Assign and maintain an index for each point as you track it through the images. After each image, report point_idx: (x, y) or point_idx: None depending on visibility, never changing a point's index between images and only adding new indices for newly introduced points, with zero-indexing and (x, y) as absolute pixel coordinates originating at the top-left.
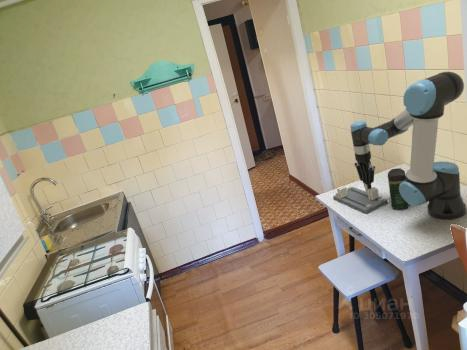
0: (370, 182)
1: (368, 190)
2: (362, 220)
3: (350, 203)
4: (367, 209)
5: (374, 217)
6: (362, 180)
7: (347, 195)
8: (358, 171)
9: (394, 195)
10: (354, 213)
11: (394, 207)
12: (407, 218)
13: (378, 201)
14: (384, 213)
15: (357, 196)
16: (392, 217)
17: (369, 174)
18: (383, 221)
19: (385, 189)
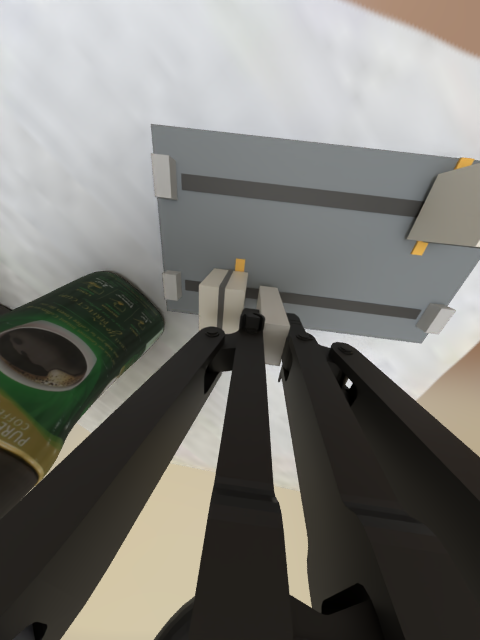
0: (197, 338)
1: (232, 289)
2: (106, 26)
3: (321, 149)
4: (154, 150)
5: (97, 135)
6: (318, 346)
7: (408, 236)
8: (465, 474)
9: (27, 303)
10: (230, 85)
11: (94, 272)
12: (6, 236)
13: (187, 277)
14: (105, 215)
15: (333, 266)
16: (46, 203)
17: (117, 436)
18: (25, 128)
19: (270, 384)
